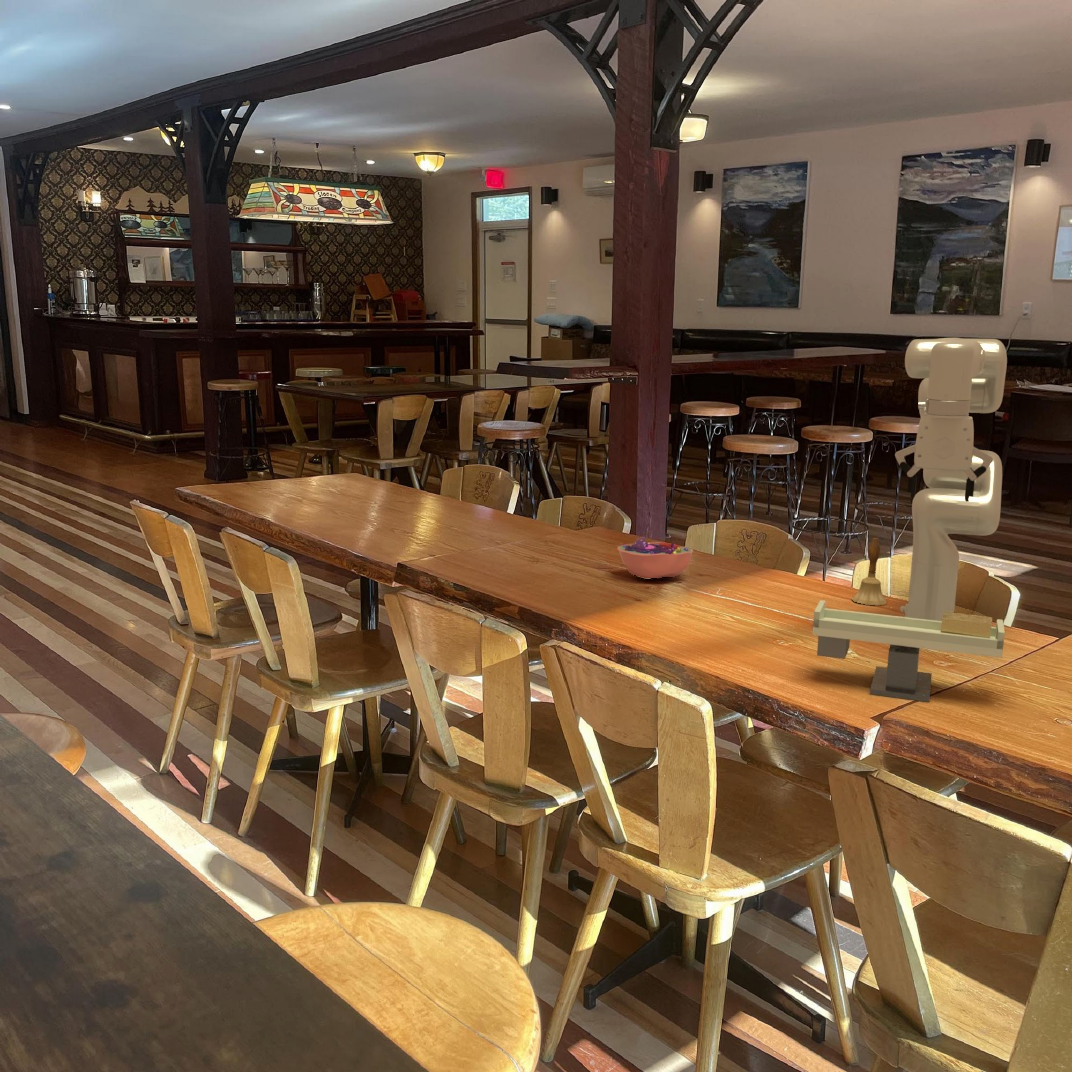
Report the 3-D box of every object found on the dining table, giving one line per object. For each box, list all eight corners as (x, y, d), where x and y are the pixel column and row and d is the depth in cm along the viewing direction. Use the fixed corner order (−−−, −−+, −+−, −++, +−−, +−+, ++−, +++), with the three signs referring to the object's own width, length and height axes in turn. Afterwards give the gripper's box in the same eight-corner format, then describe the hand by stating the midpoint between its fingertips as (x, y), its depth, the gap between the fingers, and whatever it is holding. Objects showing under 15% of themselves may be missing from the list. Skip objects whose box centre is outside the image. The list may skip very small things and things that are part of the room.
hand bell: (879, 597, 250) (884, 534, 247) (892, 606, 242) (897, 541, 239) (846, 597, 250) (851, 534, 247) (858, 606, 242) (863, 541, 239)
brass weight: (939, 639, 179) (942, 618, 178) (942, 632, 183) (944, 611, 182) (988, 646, 175) (991, 624, 175) (990, 638, 180) (992, 617, 179)
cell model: (696, 587, 259) (698, 544, 257) (618, 585, 259) (619, 542, 257) (687, 572, 275) (689, 531, 273) (614, 570, 276) (616, 530, 273)
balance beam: (811, 655, 187) (814, 611, 185) (817, 642, 195) (820, 600, 193) (999, 679, 175) (1004, 632, 173) (997, 664, 183) (1002, 619, 181)
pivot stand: (870, 694, 181) (873, 651, 180) (875, 671, 194) (879, 631, 192) (929, 702, 177) (933, 658, 176) (931, 678, 190) (935, 637, 189)
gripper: (897, 409, 189) (890, 498, 193) (998, 412, 182) (988, 505, 186) (900, 405, 195) (893, 491, 199) (997, 408, 189) (988, 498, 193)
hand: (939, 498), depth 193 cm, fingers open, 9 cm apart
